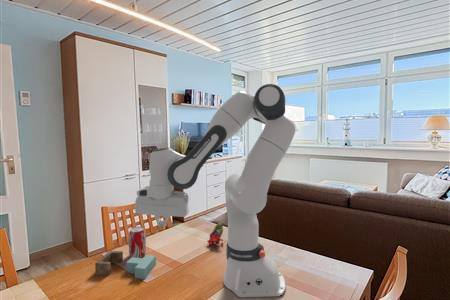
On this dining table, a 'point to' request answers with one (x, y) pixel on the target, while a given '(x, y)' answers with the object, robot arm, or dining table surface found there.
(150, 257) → the t block
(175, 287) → the dining table surface
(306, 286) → the dining table surface
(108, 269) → the bracket
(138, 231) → the soda can
